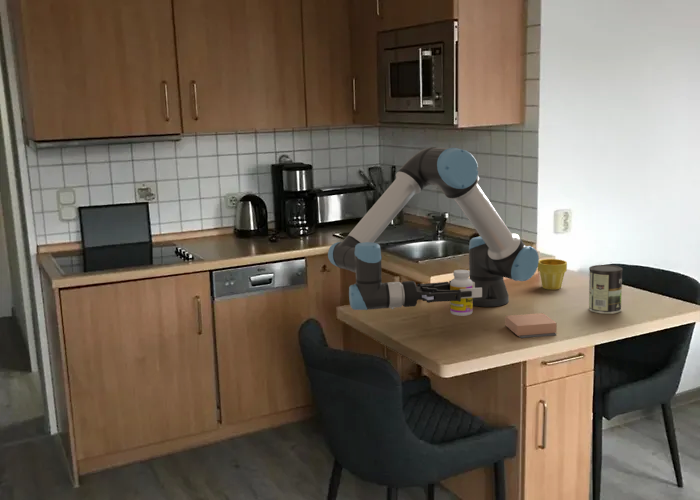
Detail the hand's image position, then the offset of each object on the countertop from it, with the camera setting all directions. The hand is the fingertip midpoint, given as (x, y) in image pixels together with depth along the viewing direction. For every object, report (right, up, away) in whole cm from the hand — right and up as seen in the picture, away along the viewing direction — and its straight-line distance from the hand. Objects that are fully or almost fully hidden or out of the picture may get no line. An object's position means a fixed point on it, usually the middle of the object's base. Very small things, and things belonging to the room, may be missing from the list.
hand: (477, 289), depth 226 cm
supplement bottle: (-5, -7, +1) cm, 9 cm away
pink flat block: (+11, -11, +4) cm, 16 cm away
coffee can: (+46, -8, +23) cm, 52 cm away
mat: (+17, -13, +5) cm, 22 cm away
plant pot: (+36, -2, +54) cm, 65 cm away
